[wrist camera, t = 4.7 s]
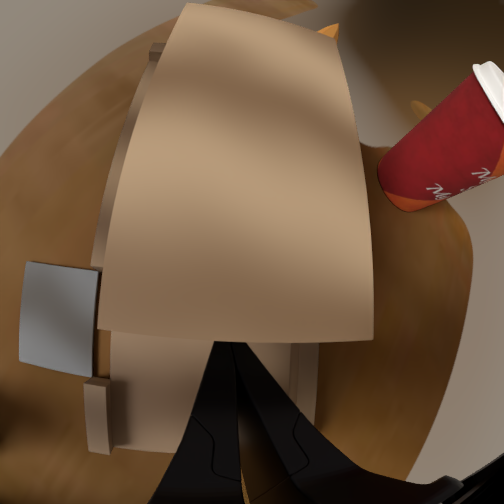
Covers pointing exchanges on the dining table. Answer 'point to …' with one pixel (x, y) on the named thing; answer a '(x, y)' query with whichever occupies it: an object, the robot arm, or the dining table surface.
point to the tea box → (242, 192)
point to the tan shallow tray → (134, 342)
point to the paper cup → (450, 145)
